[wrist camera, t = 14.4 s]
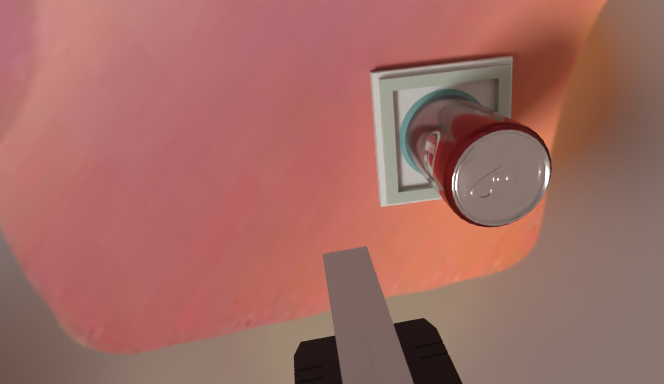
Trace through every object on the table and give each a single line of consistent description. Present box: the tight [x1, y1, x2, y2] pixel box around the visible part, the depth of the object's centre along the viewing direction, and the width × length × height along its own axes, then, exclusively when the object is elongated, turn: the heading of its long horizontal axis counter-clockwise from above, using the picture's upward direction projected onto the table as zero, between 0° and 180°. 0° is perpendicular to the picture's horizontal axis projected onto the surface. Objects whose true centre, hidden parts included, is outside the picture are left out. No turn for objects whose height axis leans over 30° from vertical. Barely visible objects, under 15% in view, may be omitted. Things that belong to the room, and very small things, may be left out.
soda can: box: [405, 95, 552, 227], centre depth 37 cm, size 7×7×12 cm
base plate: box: [370, 56, 513, 207], centre depth 43 cm, size 12×12×2 cm
